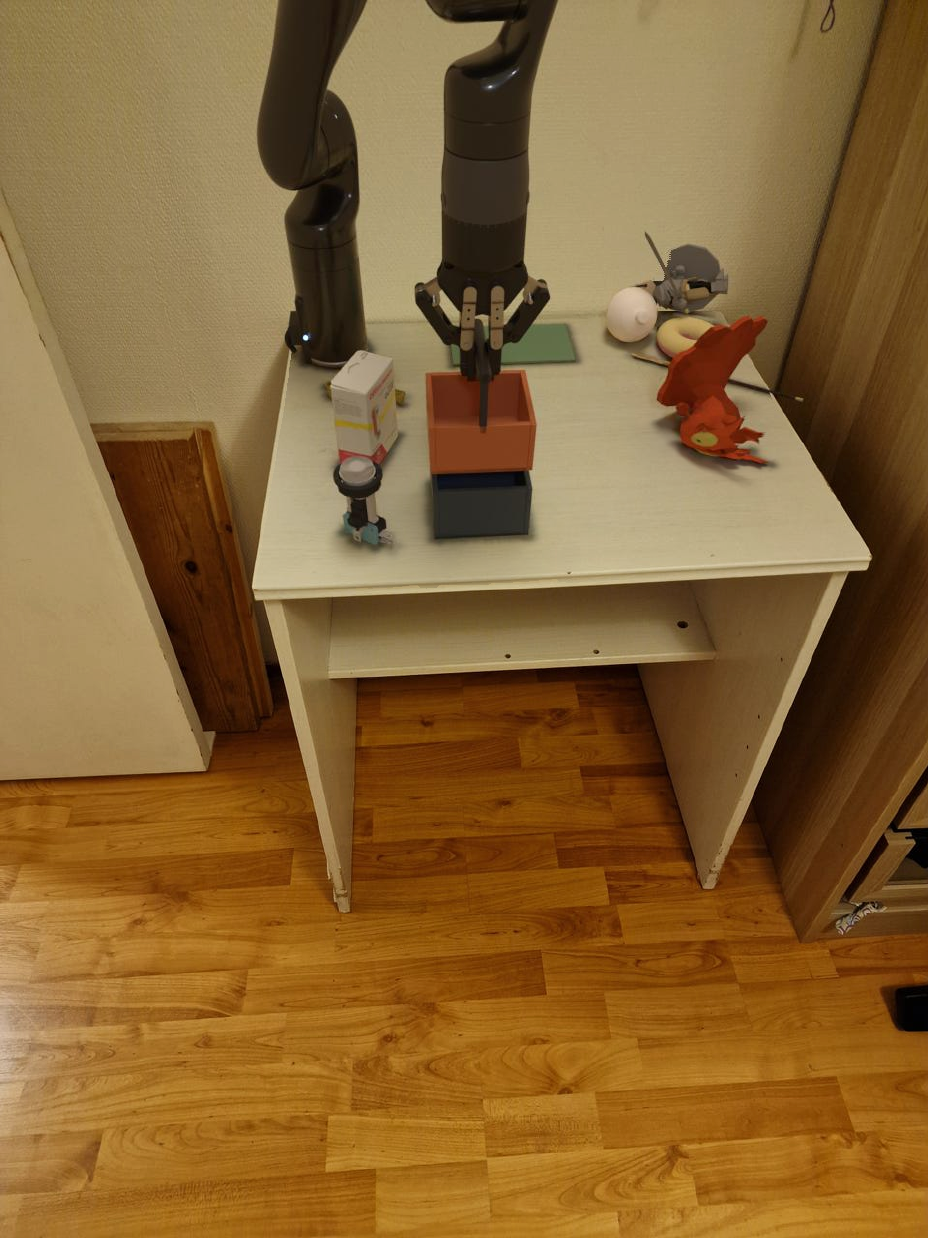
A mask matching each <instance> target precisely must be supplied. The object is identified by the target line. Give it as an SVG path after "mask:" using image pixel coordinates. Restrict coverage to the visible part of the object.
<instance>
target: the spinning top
mask: <svg viewBox="0 0 928 1238" xmlns="http://www.w3.org/2000/svg"><path fill="white" fill-rule="evenodd" d="M629 287H630V286H629ZM657 319H658V304H657V305H656V302H655V300H654V298H653V297H652V295H651V294H650V293H649V292H647V291H646V290H644V289H642V288H638V287H630V288H628V287H626V288H623V289H621V290H619V291H618V292H616V293H615V294H614V295H613V296H612V298H611V299H610V301H608V304H607V306H606V309H605V324H606V327H607V329H608V331H609V332H610V334H611V335H612V336H613V337H614V338H615V339H617V340H619V341H621V342H624V343H635V342H639V341H641V340H643V339H644V338H646V337H647V336H648V335H649V334H650V333H651V332H652V330H653V329H654V327H655V325H656V323H657Z"/></svg>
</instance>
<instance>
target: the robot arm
mask: <svg viewBox="0 0 928 1238" xmlns="http://www.w3.org/2000/svg"><path fill="white" fill-rule="evenodd" d="M368 1H369V0H277V7H276V13H275V14H276V15H275V20H274V21H275V22H274V32H273V37H272V38H273V40H272V46H271V53H270V57H269V64H268V67H267V71H266V77H265V82H264V86H263V91H262V95H261V101H260V105H259V110H258V116H257V122H256V144H257V151H258V156H259V159H260V162H261V164H262V167H263V169H264V171H265V173H266V175H267V176H268V177H269V179H270V181H272V182H273V183H274V184H275V185H276V186H277V187H279V188H281V189H283V190H287V191H291V192H294V191H296V193H295V195H294V197H293V199H292V200H291V202H290V204H289V205H288V206H287V208H286V210H285V212H284V216H283V224H284V229H285V230H284V231H285V237H286V242H287V243H286V244H287V248H288V255H289V262H290V268H291V273H292V279H293V285H294V291H295V293H294V294H295V295H294V308H295V310H290V311H289V320H288V327H287V329H286V331H285V333H284V342H285V345H286V347H287V348H288V350H289V351H290V352H291V354H295V353H297V351H298V349H297V347H296V346H301V350H302V357H303V363H304V364H313V365H315V366H317V367H320V368H326V369H339V368H340V369H342V368H343V367H344V365H345V364H346V363H347V362H348V361H349V360H350V358H351V357H352V356H353V355H354V354H355V353H356V352H357V351H360V350H361V351H366V352H369V341H368V336H367V335H368V334H367V328H366V316H365V306H364V305H365V304H364V298H363V296H364V295H363V287H362V275H361V265H360V255H359V244H358V243H359V242H358V234H357V233H358V232H357V218H358V214H359V211H360V205H361V195H360V191H361V190H360V171H359V151H358V150H359V149H358V140H357V135H356V129H355V126H354V122H353V119H352V116H351V114H350V111H349V109H348V108H347V105H346V104H345V103H344V101H343V100H342V99H341V98H340V97H339V95H337V93H336V92H334V91H332V90H331V89H329V88H328V87H329V84H330V81H331V77H332V75H333V72H334V70H335V67H336V66H337V64H338V61H339V60H340V57H341V56H342V54H343V52H344V50H345V48H346V46H347V44H348V43H349V41H350V39H351V37H352V35H353V33H354V32H355V30H356V27H357V25H358V23H359V21H360V19H361V17H362V15H363V13H364V11H365V8H366V7H367V4H368ZM424 2H425V4H426V6H427V7H428V8H429V10H431V12H432V13H433V14H434V15H435V16H436V17H437V18H438V19H440V20H441V21H443V22H445V23H448V24H452V25H466V24H467V25H469V24H483V23H496V22H503V23H502V24H501V28H500V29H499V31H498V34H497V35H496V37H495V39H494V40H493V41H492V42H491V43H490V44H489V45H487V46H486V47H484V48H482V49H480V50H477V51H475V52H472V53H469V54H466V55H464V56H462V57H460V58H457V59H456V60H453V62H452V63H450V64H449V65H448V67H447V69H446V71H445V74H444V78H443V95H442V96H443V153H442V162H441V172H440V173H441V174H440V187H441V188H440V202H441V203H440V204H441V205H440V206H441V209H440V210H441V260H440V264H439V265H438V268H437V270H436V276H435V277H433V278H432V279H431V280H429V281H427V282H426V283H424V282H422V281H419V282H416V284H415V285H414V302H415V305H416V306H417V307H418V309H419V311H420V312H421V313H422V315H423V316H424V318H425V319H426V320H427V322H428V323H429V325H430V326H431V327H432V329H433V331H434V332H435V333H436V335H437V336H438V337H439V339H440V340H441V342H442V344H444V345H445V346H451V345H452V344H454V345H457V346H458V347H459V348H460V366H459V372H461V374H462V376H467V382H471V381H474V364H475V358H474V356H475V348H474V341H473V331H474V324H475V319H476V317H478V316H482V315H483V316H488V319H487V323H488V324H487V327H488V333H489V338H486V344H487V350H488V356H489V362H490V368H491V375H492V380H491V381H494V375H499V373H500V371H501V370H502V364H501V354H502V347H503V346H504V345H505V344H507V343H510V342H511V343H518V342H519V341H520V340H521V339H522V337H523V336H524V334H525V333H526V332H527V330H528V329H529V328H530V326H531V325H533V324H534V322H535V321H536V319H537V318H538V317H539V315H540V314H541V313H542V311H543V310H544V308H545V307H546V306H547V305H548V303H549V301H550V300H551V293H550V289H549V286H548V283H547V281H546V279H543V278H539V279H536V278H534V277H532V276H531V275H529V273H528V267H527V266H526V264H525V250H526V233H527V221H528V220H527V218H528V206H529V202H530V195H531V194H530V193H531V192H530V162H529V161H530V160H529V159H530V158H529V150H530V149H529V147H530V146H529V144H530V130H531V129H530V128H531V112H532V103H533V101H532V100H533V94H534V93H533V92H534V87H535V82H536V79H537V74H538V70H539V66H540V62H541V58H542V55H543V50H544V46H545V44H546V40H547V38H548V34H549V30H550V27H551V25H552V21H553V18H554V15H555V11H556V9H557V5H558V3H559V0H424ZM522 290H523V291H522ZM441 291H442V292H443V293H444V295H445V296H446V298H447V299H448V300H449V301H450V302H451V304H452V305H453V306H454V308H455V309H456V310H457V311H458V313H459V321H458V325H455V324H453V322H452V321H451V320H450V318H449V317H448V315H447V313H446V312H445V310H444V309H443V308H442V306H441V305H440V304H441V293H440V292H441ZM521 292H522V301H521V302H520V303H519V305H518V306H517V307H516V309H515V311H514V312H513V313H512V315H511V316H510V318H509V319H508V320H507V322H506V323H505V324H504V322H505V321H504V315H505V314H504V312H505V311H506V310H507V309H508V307H509V306H510V305H511V304H512V303H513V301H515V299H516V298H517V296H519V294H520V293H521Z"/></svg>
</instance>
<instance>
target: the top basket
mask: <svg viewBox="0 0 928 1238" xmlns="http://www.w3.org/2000/svg"><path fill="white" fill-rule="evenodd" d="M484 327H485V326H484V321H483V320H482V319H481V318H475V324H474V331H473V341H474V348H475V356H474V358H475V364H474V381H471V382H467V376H462V374H461V372H460V371H439V372H438V371H437V372H433V371H432V372H425V374H424V375H425V397H426V398H425V404H426V405H425V406H426V428H427V442H428V444H427V445H428V458H429V475H430V474H449V473H476V472H503V471H529V472H530V471H533V467H534V458H535V448H536V447H535V446H536V435H537V428H538V424H537V420H536V419H537V418H536V415H535V410H534V409H535V408H534V405H533V400H532V395H531V390H530V386H529V381H528V377H527V373H526V369H503V370H502V369H501V371H500V373H499V375H494V381H491V380H492V375H491V368H490V362H489V356H488V350H487V344H486V337H485V331H484Z"/></svg>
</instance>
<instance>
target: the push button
mask: <svg viewBox="0 0 928 1238" xmlns="http://www.w3.org/2000/svg"><path fill="white" fill-rule="evenodd" d="M383 476H384V475H383V469H382V466H381V464H380V465H379V464H377V463H376V462H374V461H372V460H370V459H368V458H367V457H363V456H353V457H350V458H347V459H346V460H344V461H343V462H342V463H341V464H340V463H339V464H338V465H337V466H336V467H335V468H334V470H333V473H332V478H333V483H334V484H335V485H336V486H337V489H338V492H339V493H340V495H342V496H344V497H346V505H347V506H346V512H345V513H343V515H342V520H343V528H344V531H345V532H346V533H348V534H350V535H352V537H353V540H354V541H356V542H359V543H361V542H362V540H363V541H365V542H367V543H369V544H371V545H373V546H377V545H378V544H379V543H382V544H386V545H388V546H392V545H393V544H394V543H395V540H394V539H393V538H394V537H395V534H392V533H390V532H388V530H387V520H386V518H384V517H382V516H380V515H378V512H377V510H378V509H377V501H376V493H377V492H378V491H379V490H380V489H381V486H382V479H383Z"/></svg>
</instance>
